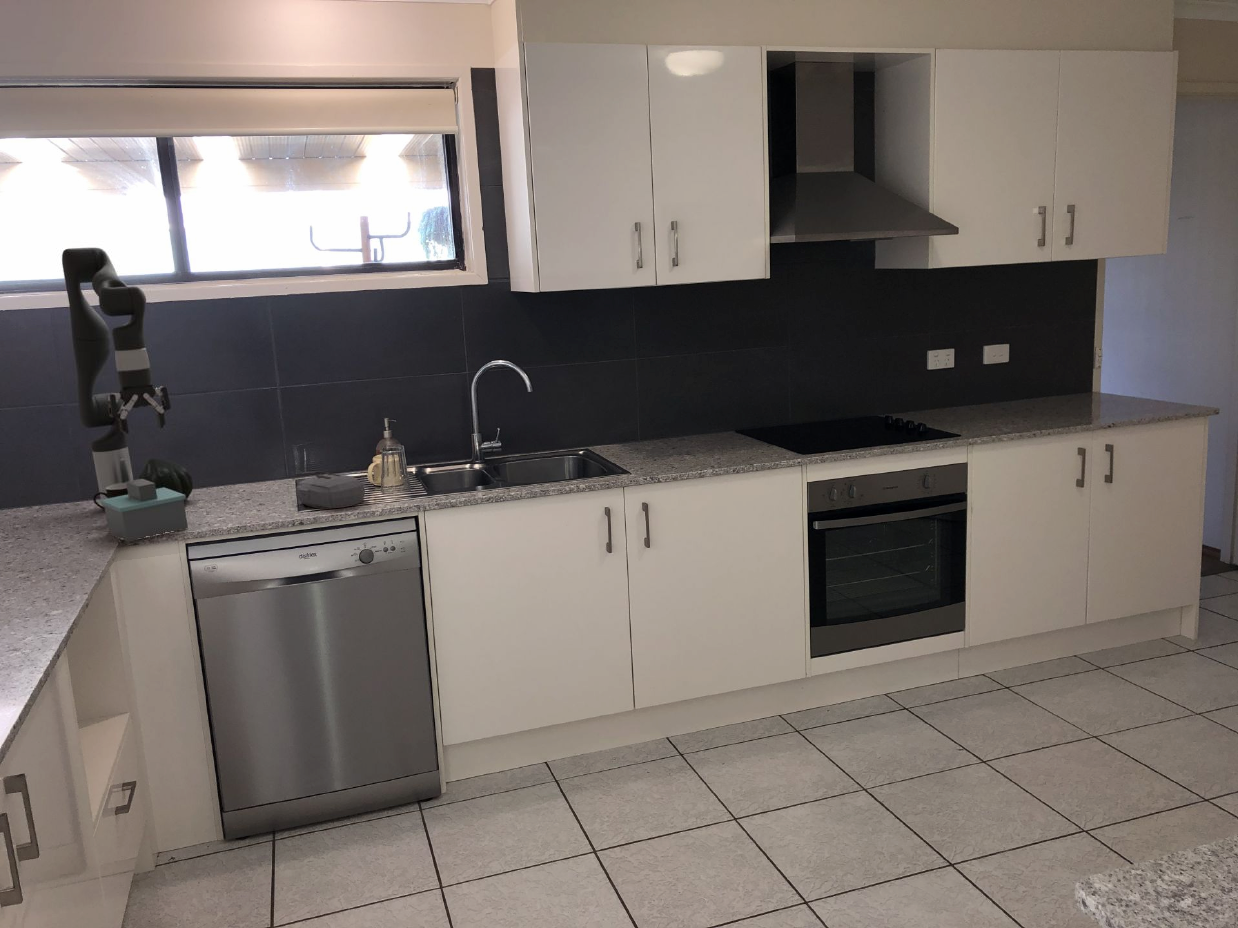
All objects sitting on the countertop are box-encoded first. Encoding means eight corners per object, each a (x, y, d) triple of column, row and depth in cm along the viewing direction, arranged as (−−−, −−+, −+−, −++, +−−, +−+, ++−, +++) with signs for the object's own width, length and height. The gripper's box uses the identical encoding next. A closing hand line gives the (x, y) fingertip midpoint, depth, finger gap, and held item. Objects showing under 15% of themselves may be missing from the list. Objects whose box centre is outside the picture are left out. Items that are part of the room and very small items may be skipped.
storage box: (109, 533, 259) (103, 503, 258) (168, 520, 269) (163, 491, 268) (127, 542, 248) (121, 511, 247) (188, 528, 258) (183, 498, 257)
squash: (210, 479, 294) (172, 443, 292) (184, 493, 279) (143, 456, 278) (182, 511, 297) (144, 476, 296) (155, 526, 283) (114, 490, 281)
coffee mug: (153, 517, 274) (147, 482, 272) (130, 525, 266) (124, 489, 264) (118, 516, 277) (112, 482, 275) (95, 525, 269) (89, 489, 267)
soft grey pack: (290, 506, 277) (332, 514, 264) (286, 477, 275) (328, 483, 263) (335, 494, 288) (378, 501, 276) (332, 466, 287) (375, 471, 274)
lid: (101, 507, 258) (97, 484, 257) (165, 494, 268) (161, 473, 267) (121, 516, 246) (117, 492, 245) (186, 502, 257) (183, 479, 256)
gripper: (157, 363, 257) (166, 424, 261) (98, 370, 248) (109, 433, 251) (167, 364, 252) (177, 427, 255) (108, 371, 242) (118, 436, 246)
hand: (143, 430), depth 253 cm, fingers open, 8 cm apart
